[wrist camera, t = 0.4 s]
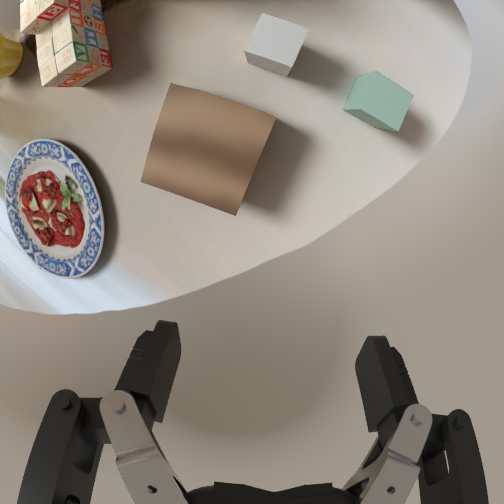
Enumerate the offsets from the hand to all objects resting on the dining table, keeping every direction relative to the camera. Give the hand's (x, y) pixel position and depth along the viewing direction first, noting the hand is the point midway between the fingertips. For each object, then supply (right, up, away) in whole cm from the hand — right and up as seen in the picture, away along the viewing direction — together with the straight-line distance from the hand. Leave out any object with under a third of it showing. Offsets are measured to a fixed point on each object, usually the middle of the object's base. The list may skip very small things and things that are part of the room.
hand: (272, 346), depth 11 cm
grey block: (+2, +28, +16) cm, 32 cm away
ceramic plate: (-36, +11, +27) cm, 46 cm away
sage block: (+14, +23, +18) cm, 32 cm away
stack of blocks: (-25, +38, +12) cm, 47 cm away
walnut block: (-6, +18, +22) cm, 29 cm away
